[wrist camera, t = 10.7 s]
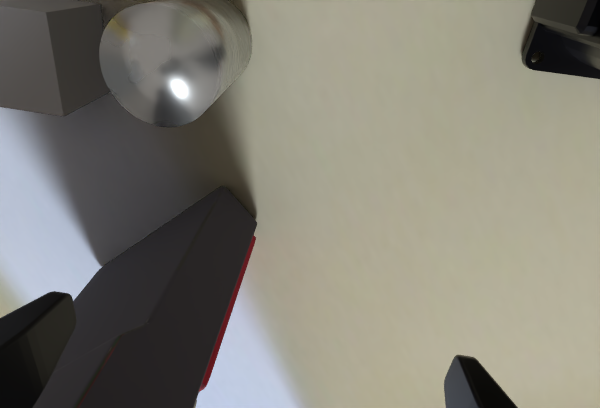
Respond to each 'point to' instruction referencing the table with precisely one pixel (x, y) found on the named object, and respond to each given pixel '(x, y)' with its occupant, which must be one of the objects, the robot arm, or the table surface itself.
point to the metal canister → (173, 57)
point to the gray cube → (50, 55)
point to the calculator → (157, 313)
